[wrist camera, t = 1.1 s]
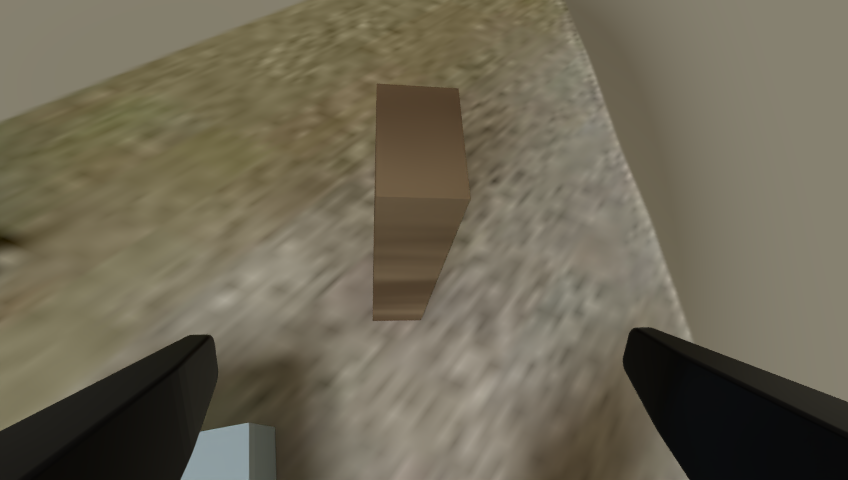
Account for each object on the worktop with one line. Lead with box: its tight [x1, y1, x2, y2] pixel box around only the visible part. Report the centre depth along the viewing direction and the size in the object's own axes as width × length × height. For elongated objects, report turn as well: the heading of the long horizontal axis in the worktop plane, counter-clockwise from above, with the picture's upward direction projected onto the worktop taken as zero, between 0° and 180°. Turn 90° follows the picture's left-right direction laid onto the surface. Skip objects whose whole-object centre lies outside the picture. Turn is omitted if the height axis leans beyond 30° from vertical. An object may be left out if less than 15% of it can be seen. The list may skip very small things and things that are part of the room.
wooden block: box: [373, 84, 471, 321], centre depth 17 cm, size 4×2×12 cm, turn 3°
